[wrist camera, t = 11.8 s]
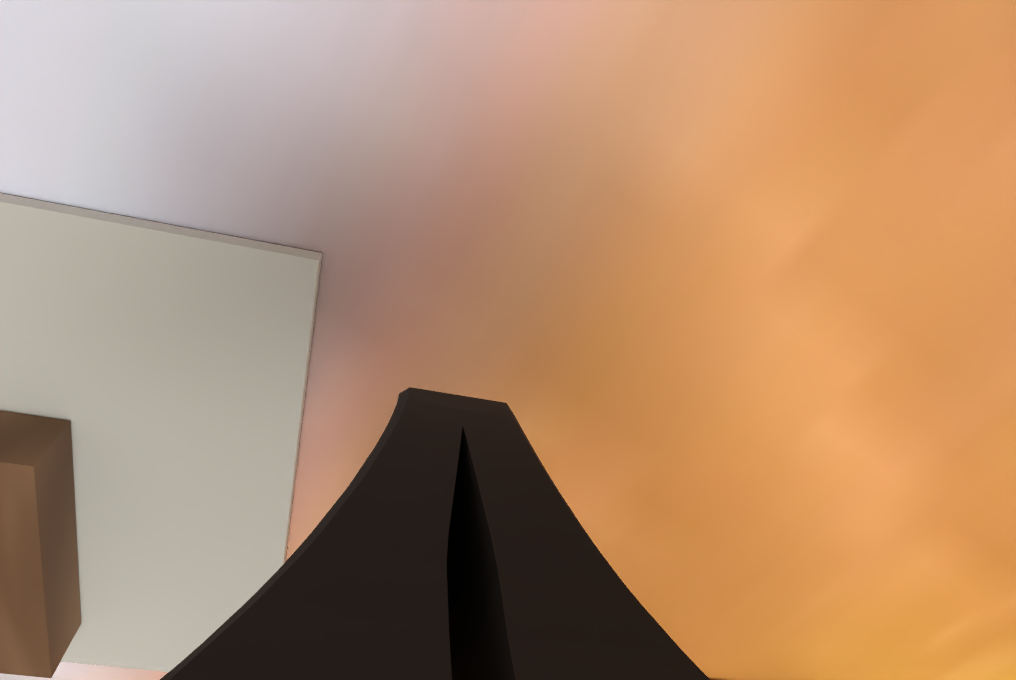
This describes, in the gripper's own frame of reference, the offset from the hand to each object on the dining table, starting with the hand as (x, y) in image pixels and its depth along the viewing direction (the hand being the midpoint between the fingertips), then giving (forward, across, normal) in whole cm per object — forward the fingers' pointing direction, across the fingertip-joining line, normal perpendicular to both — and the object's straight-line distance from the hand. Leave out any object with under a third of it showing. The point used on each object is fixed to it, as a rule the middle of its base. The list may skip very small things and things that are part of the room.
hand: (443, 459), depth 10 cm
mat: (+10, +11, +10) cm, 18 cm away
